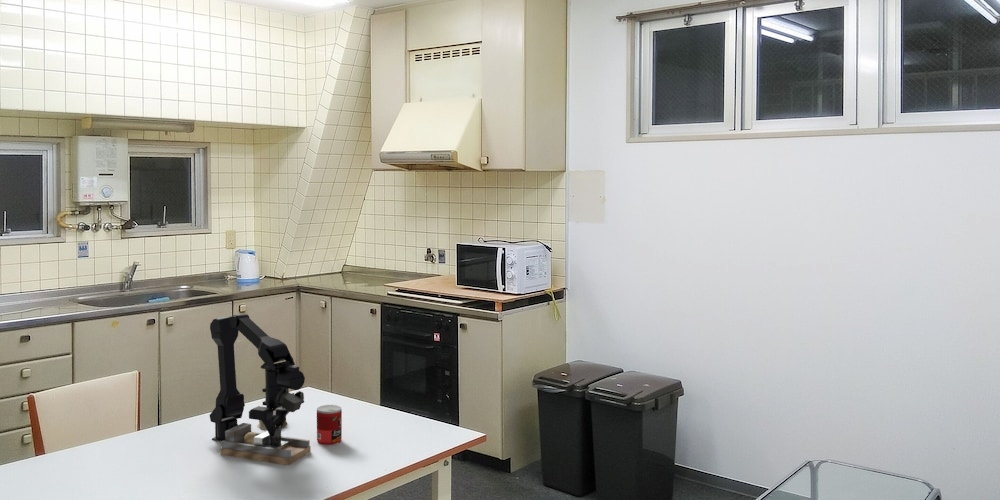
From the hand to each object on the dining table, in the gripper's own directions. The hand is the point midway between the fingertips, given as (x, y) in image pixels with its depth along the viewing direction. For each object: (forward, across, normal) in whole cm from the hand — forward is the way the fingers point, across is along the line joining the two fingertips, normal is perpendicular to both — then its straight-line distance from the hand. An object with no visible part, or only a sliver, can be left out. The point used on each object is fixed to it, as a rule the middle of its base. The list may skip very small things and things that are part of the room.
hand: (275, 434), depth 243 cm
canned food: (+7, +17, -8) cm, 20 cm away
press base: (+6, 0, +4) cm, 7 cm away
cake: (+7, +24, +18) cm, 31 cm away
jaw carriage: (+4, 0, +1) cm, 5 cm away
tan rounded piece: (+4, 0, +9) cm, 10 cm away
